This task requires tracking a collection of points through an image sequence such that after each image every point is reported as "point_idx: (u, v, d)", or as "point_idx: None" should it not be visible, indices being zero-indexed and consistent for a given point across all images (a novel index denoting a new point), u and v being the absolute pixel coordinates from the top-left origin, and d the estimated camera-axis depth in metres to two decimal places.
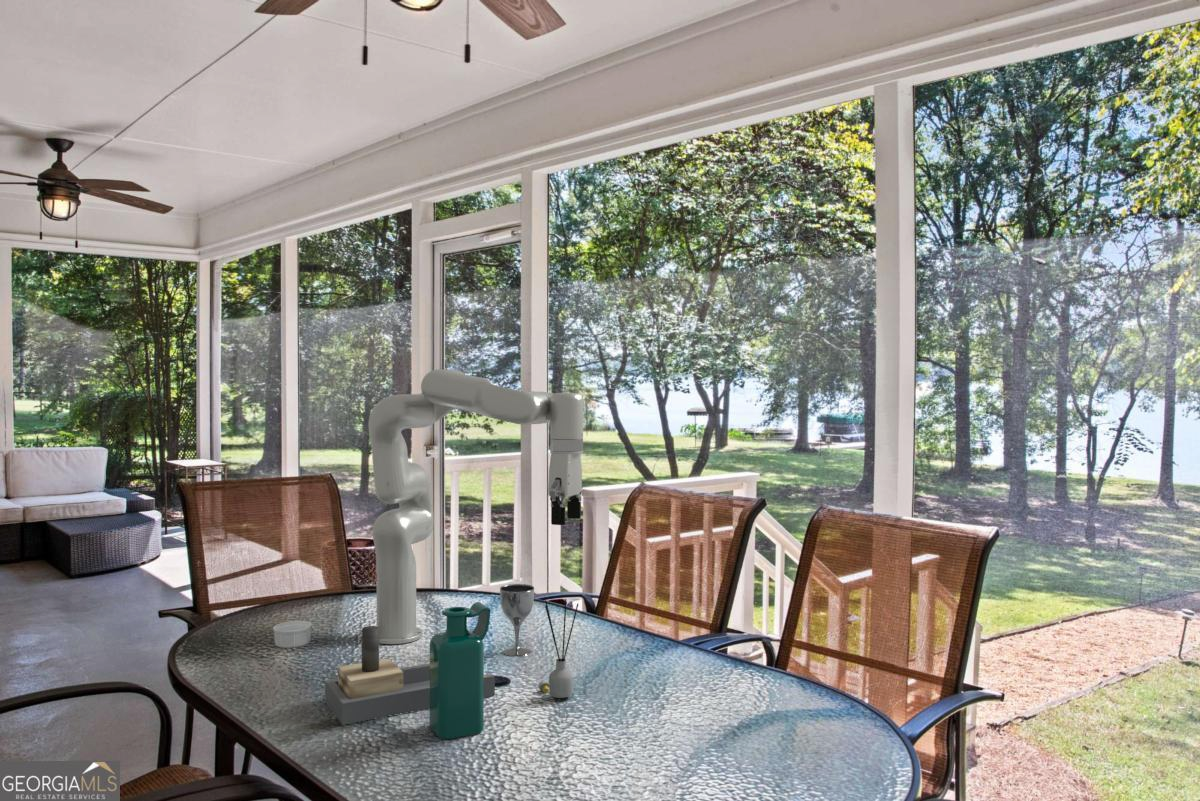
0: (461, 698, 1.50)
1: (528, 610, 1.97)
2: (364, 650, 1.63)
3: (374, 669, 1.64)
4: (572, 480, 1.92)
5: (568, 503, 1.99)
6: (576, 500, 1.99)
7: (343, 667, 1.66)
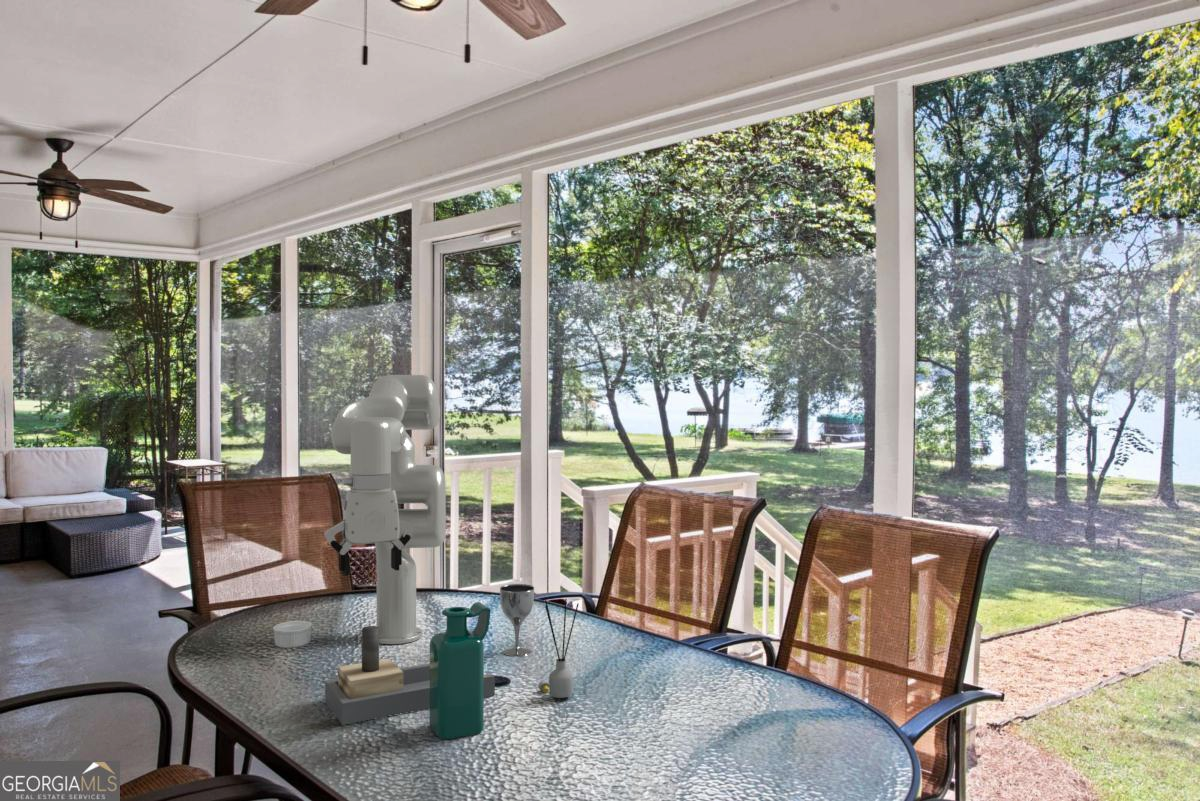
0: (461, 698, 1.50)
1: (528, 610, 1.97)
2: (364, 650, 1.63)
3: (374, 669, 1.64)
4: None
5: (348, 556, 1.61)
6: None
7: (343, 667, 1.66)
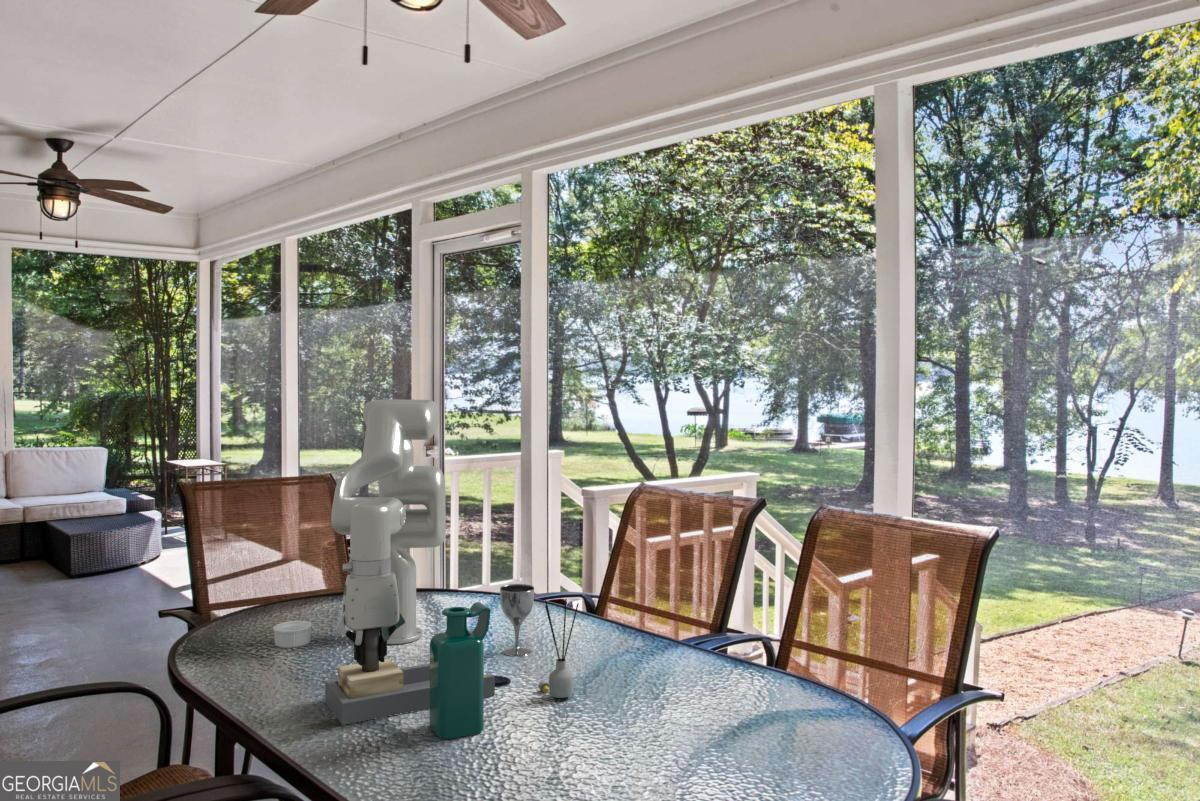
0: (461, 698, 1.50)
1: (528, 610, 1.97)
2: (364, 650, 1.63)
3: (374, 669, 1.64)
4: None
5: (363, 646, 1.63)
6: None
7: (343, 667, 1.66)
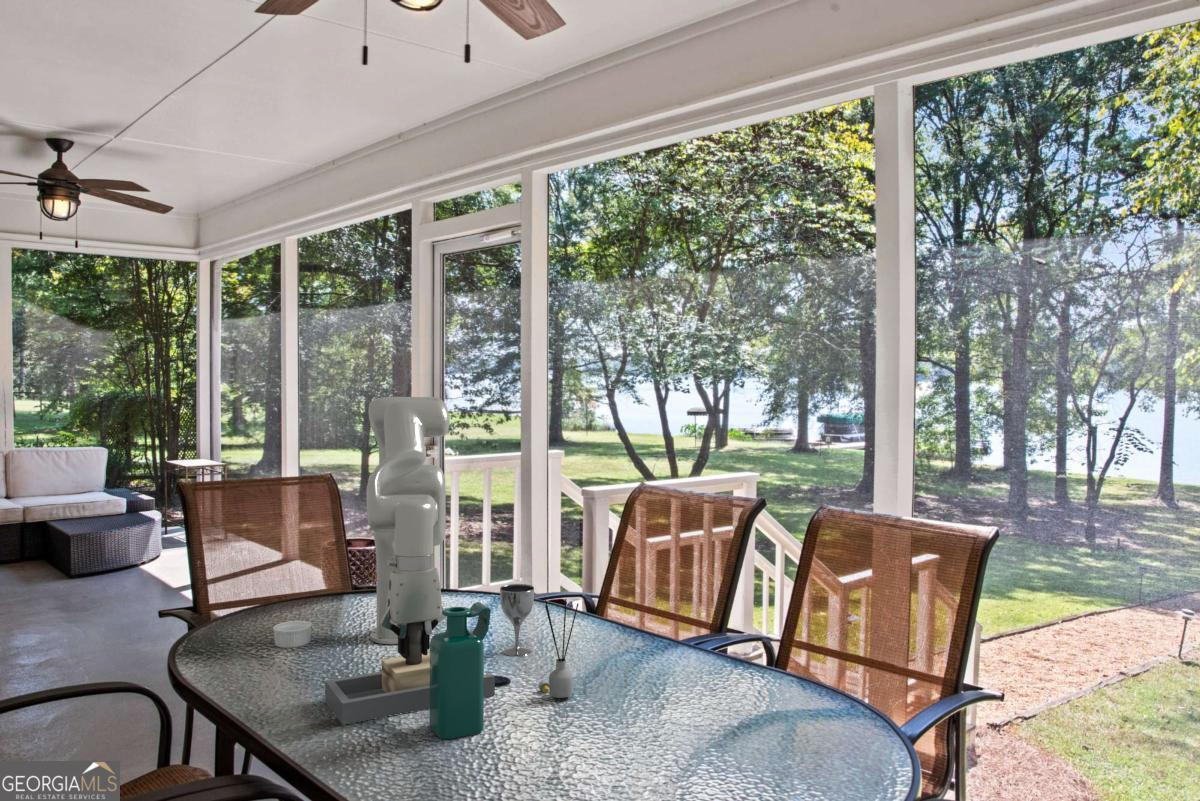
0: (461, 698, 1.50)
1: (528, 610, 1.97)
2: (408, 644, 1.68)
3: (417, 662, 1.68)
4: None
5: (407, 640, 1.67)
6: None
7: (387, 660, 1.70)
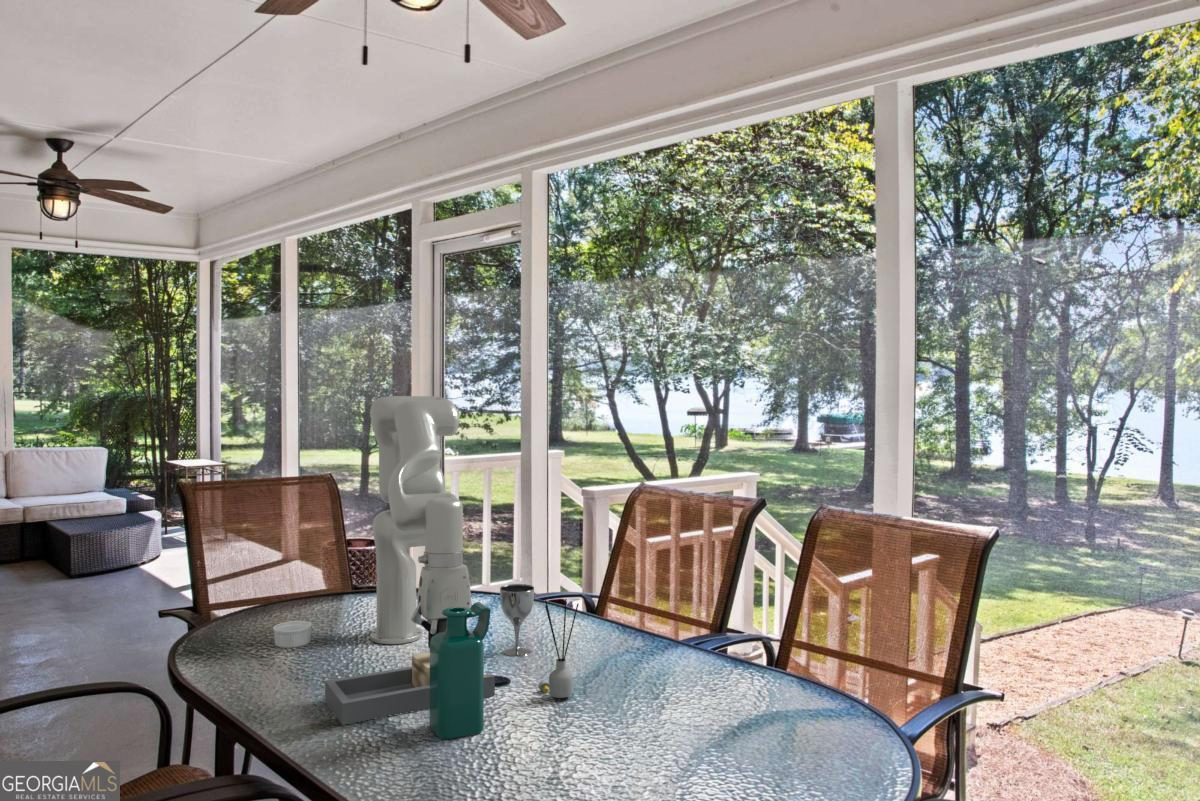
0: (461, 698, 1.50)
1: (528, 610, 1.97)
2: None
3: None
4: None
5: None
6: None
7: (417, 655, 1.73)
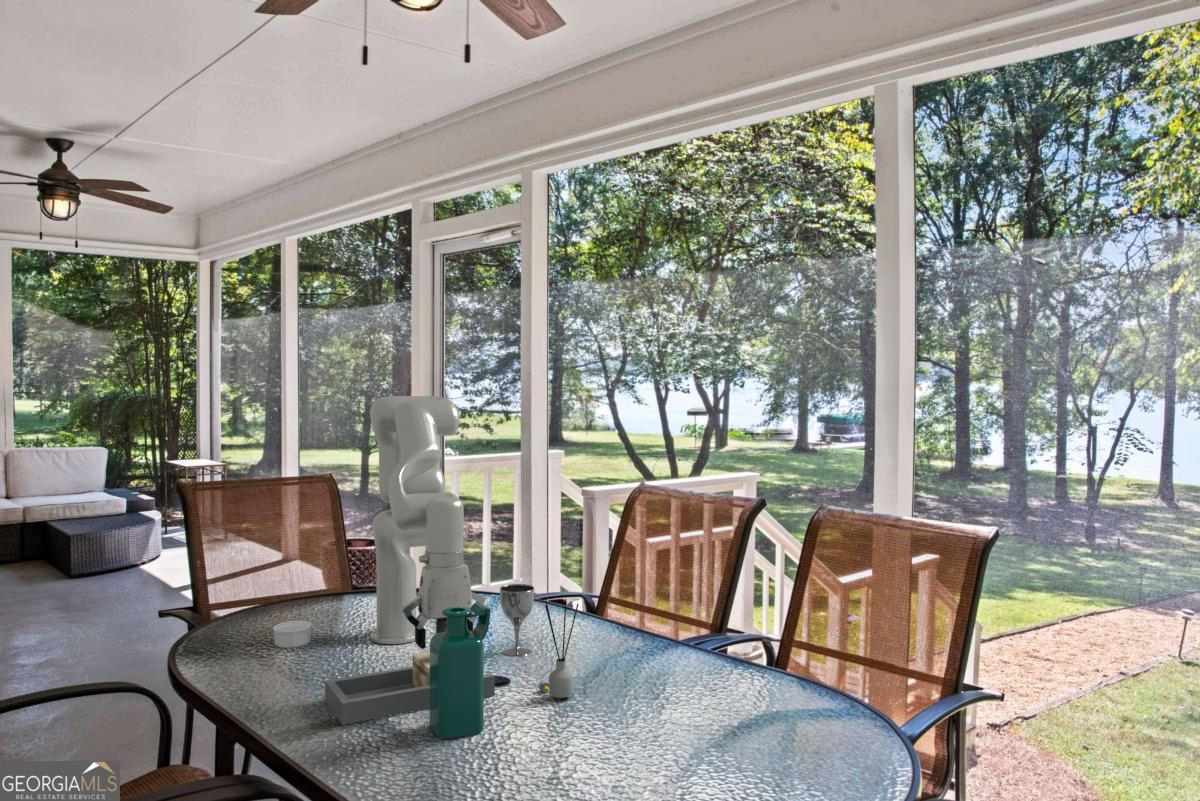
0: (461, 698, 1.50)
1: (528, 610, 1.97)
2: None
3: None
4: None
5: None
6: None
7: (418, 655, 1.73)
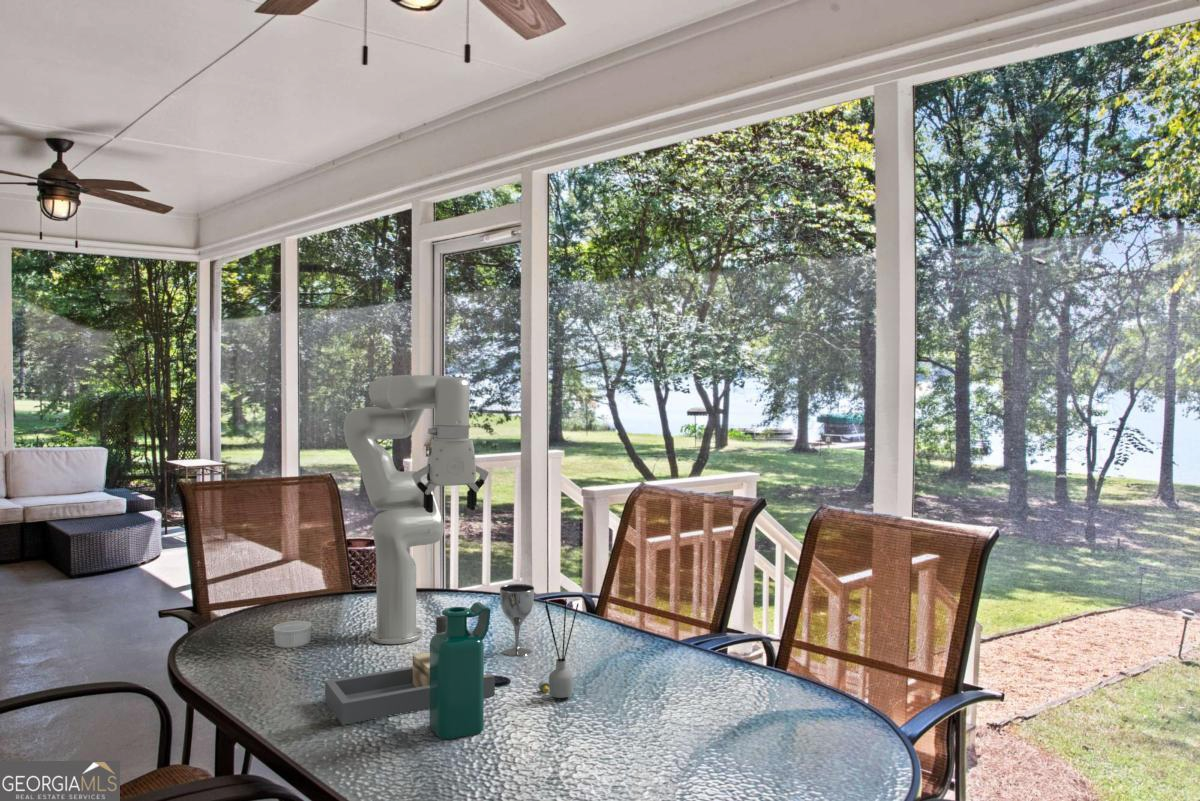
0: (461, 698, 1.50)
1: (528, 610, 1.97)
2: None
3: None
4: None
5: (432, 496, 1.85)
6: None
7: (418, 655, 1.73)
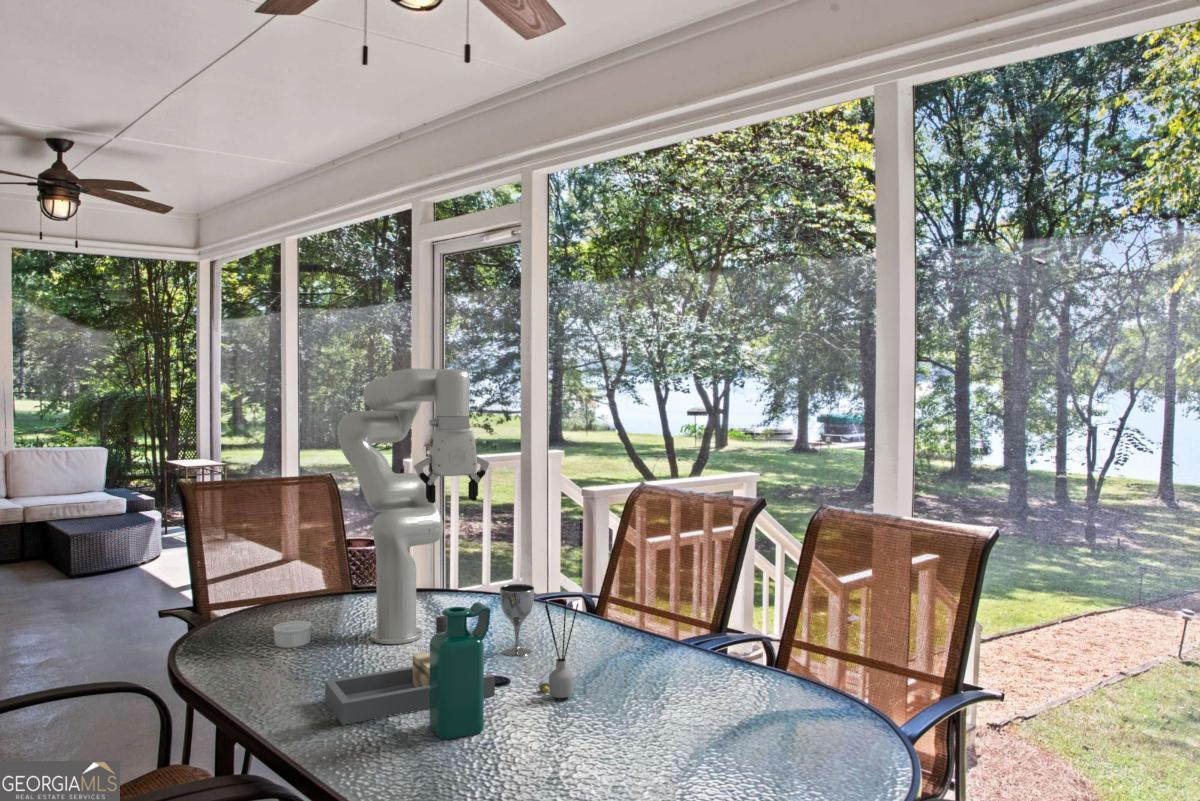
0: (461, 698, 1.50)
1: (528, 610, 1.97)
2: None
3: None
4: None
5: (434, 487, 1.87)
6: None
7: (418, 655, 1.73)
